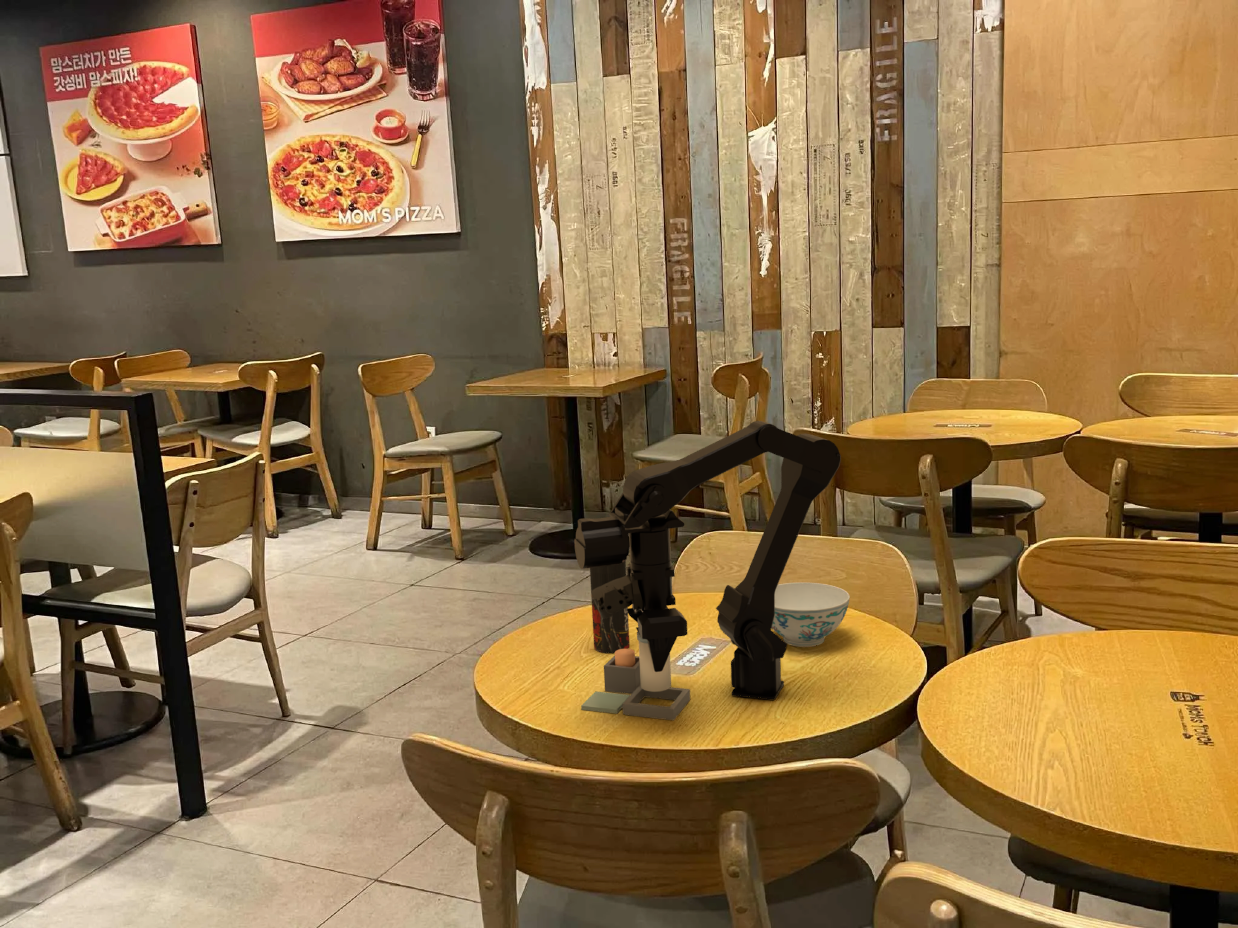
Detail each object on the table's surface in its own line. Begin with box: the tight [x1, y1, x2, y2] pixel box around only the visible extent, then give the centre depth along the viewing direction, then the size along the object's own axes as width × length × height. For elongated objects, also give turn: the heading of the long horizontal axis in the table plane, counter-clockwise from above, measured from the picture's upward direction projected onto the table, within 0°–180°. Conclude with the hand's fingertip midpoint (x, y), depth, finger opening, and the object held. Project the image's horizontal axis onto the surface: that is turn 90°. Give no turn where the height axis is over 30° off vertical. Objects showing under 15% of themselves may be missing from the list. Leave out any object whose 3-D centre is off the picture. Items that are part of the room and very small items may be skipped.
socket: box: [622, 684, 691, 721], centre depth 158 cm, size 8×8×2 cm
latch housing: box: [603, 655, 641, 695], centre depth 166 cm, size 5×5×4 cm
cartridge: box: [636, 631, 672, 692], centre depth 157 cm, size 5×5×8 cm
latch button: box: [614, 648, 636, 667], centre depth 166 cm, size 3×3×4 cm
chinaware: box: [771, 581, 851, 648], centre depth 182 cm, size 15×15×8 cm
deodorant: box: [589, 559, 631, 654], centre depth 182 cm, size 6×6×15 cm
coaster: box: [580, 691, 631, 714], centre depth 160 cm, size 6×6×1 cm
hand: (655, 665), depth 157 cm, fingers closed on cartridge, 4 cm apart
